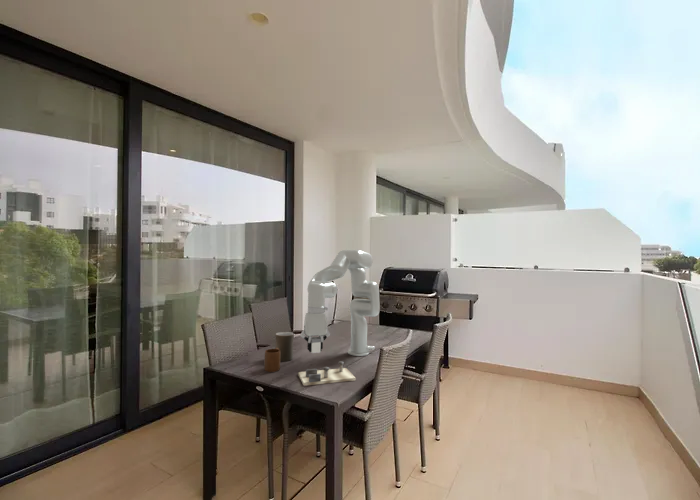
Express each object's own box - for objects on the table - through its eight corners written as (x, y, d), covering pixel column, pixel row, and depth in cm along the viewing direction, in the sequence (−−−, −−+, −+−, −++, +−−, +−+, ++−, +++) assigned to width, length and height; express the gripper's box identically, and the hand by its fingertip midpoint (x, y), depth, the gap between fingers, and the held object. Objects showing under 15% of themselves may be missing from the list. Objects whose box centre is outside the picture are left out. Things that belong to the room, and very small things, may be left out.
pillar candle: (289, 362, 180) (290, 333, 180) (271, 360, 182) (272, 332, 182) (295, 357, 190) (296, 330, 190) (279, 355, 192) (280, 328, 192)
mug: (270, 364, 177) (271, 345, 177) (284, 365, 176) (285, 346, 176) (261, 372, 165) (262, 352, 165) (277, 373, 164) (277, 353, 164)
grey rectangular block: (318, 350, 157) (318, 336, 157) (320, 352, 153) (320, 339, 153) (309, 350, 156) (309, 337, 156) (311, 353, 152) (311, 339, 152)
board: (346, 370, 170) (346, 359, 170) (355, 380, 157) (355, 368, 157) (298, 374, 162) (298, 362, 162) (303, 385, 149) (304, 372, 149)
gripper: (331, 308, 161) (330, 347, 161) (296, 309, 156) (295, 349, 155) (336, 311, 154) (335, 352, 154) (299, 312, 149) (298, 354, 148)
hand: (314, 350), depth 155 cm, fingers closed on grey rectangular block, 4 cm apart
